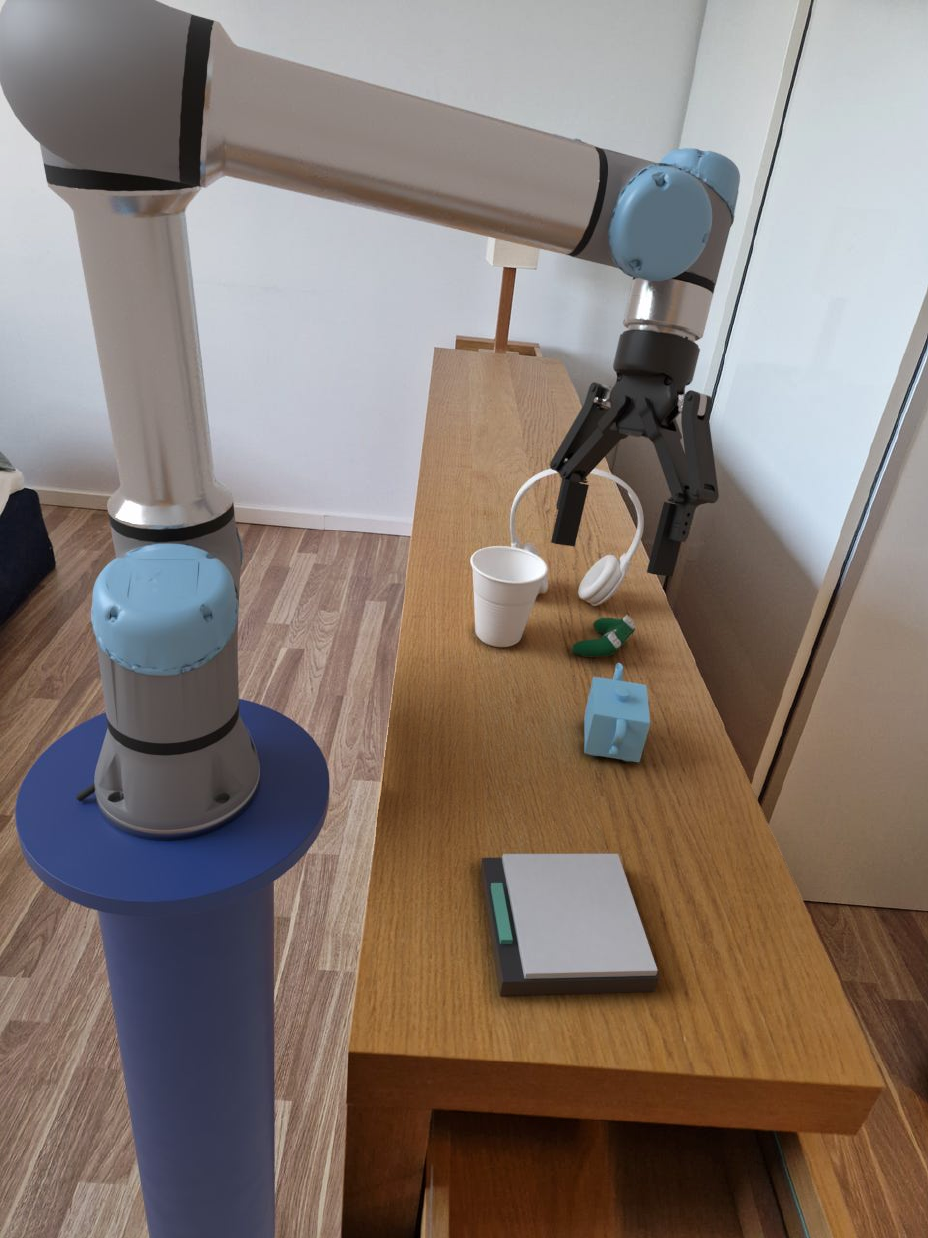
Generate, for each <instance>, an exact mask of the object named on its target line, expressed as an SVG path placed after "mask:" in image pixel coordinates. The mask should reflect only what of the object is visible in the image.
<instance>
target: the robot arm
mask: <svg viewBox="0 0 928 1238" xmlns="http://www.w3.org/2000/svg"><path fill="white" fill-rule="evenodd" d="M0 87H1V91H2V93H3V96H4V97H5V99H6V101H7V104H8V105H9V107H10V108H11V110H12V112H13V114H14V116H15V117H16V119H17V120H18V121H19V122H20V124H21V125H22V126H23V128H24V129H25V130H26V131H27V132H28V133H29V134H30V135H31V136H32V137H33V139H34V141H36V142H38V143H39V146H40V151H41V152H40V153H41V157H42V162H43V168H44V174H45V179H46V184H47V187H48V188H49V189H50V190H52V191H53V192H54V193H55V194H56V195H57V196H58V197H59V198H60V199H61V200H63V201H64V202H65V203H66V204H67V205H68V206H69V208H70V209H71V210H72V213H73V219H74V224H75V230H76V234H77V242H78V248H79V253H80V259H81V264H82V265H81V266H82V269H83V276H84V282H85V288H86V293H87V299H88V306H89V311H90V316H91V322H92V328H93V334H94V340H95V346H96V352H97V357H98V362H99V369H100V374H101V380H102V385H103V392H104V397H105V403H106V409H107V415H108V421H109V426H110V432H111V437H112V443H113V449H114V456H115V460H116V465H117V472H118V478H119V483H120V486H119V487H118V488H117V489H116V490H115V491H114V493H112V494H111V496H110V497H109V499H108V500H107V503H106V509H107V514H108V520H109V525H110V526H109V527H110V531H111V537H112V542H113V548H114V553H115V558H114V559H113V560H111V561H109V563H107V564H106V566H105V567H104V568H103V569H102V570H101V571H100V573H99V574H98V576H97V577H96V580H95V582H94V584H93V587H92V588H93V589H92V596H91V597H92V601H91V607H90V608H91V609H90V621H91V624H92V628H93V629H92V630H93V635H94V636H95V641H96V648H97V649H96V650H97V656H98V664H99V672H100V680H101V687H102V695H103V700H104V710H105V712H106V717H107V725H108V729H107V732H106V736H105V739H104V742H103V746H102V749H101V752H100V756H99V759H98V763H97V766H96V770H95V778H94V783H93V784H92V785H90V786H89V787H88V788H86V789H85V790H83V791H82V792H80V793H79V794H77V795H76V798H77V799H78V800H79V801H82V800H84V799H85V798H87V797H88V796H90V795H91V794H92V793H94V792H95V797H96V803H97V806H98V809H99V811H100V813H101V814H102V815H103V817H104V818H105V819H106V820H107V821H108V822H109V823H110V824H111V825H113V826H114V827H115V828H117V829H119V830H120V831H122V832H124V833H127V834H129V835H132V836H135V837H139V838H143V839H149V840H159V841H172V840H183V839H189V838H194V837H198V836H202V835H205V834H208V833H211V832H213V831H216V830H218V829H220V828H222V827H224V826H226V825H227V824H229V823H231V822H232V821H234V820H235V819H236V818H238V817H239V816H240V815H241V814H242V813H243V812H244V811H245V810H247V808H248V807H249V806H250V805H251V803H252V802H253V800H254V799H255V797H256V795H257V792H258V789H259V785H260V764H259V759H258V755H257V750H256V749H255V747H254V746H255V745H254V743H253V742H252V741H253V740H251V739H252V737H251V738H250V736H251V735H250V736H249V734H250V732H249V734H248V732H247V729H246V727H245V725H244V723H243V721H242V719H241V717H240V714H239V699H240V688H239V651H238V650H239V648H238V647H239V646H238V645H239V643H238V642H239V610H240V591H241V590H240V589H241V588H240V587H241V567H242V565H243V559H244V557H243V556H244V555H243V554H244V553H243V551H244V549H243V542H242V537H241V535H240V534H239V533H240V532H239V527H237V523H236V515H235V504H234V496H233V493H232V491H231V489H230V488H229V486H227V485H225V484H224V483H223V482H222V481H220V480H218V478H216V477H215V469H214V459H213V449H212V441H211V432H210V423H209V414H208V405H207V404H208V403H207V397H206V387H205V386H206V385H205V379H204V378H205V377H204V369H203V360H202V351H201V342H200V341H201V340H200V333H199V324H198V315H197V306H196V297H195V289H194V288H195V287H194V279H193V271H192V269H193V268H192V261H191V251H190V242H189V233H188V224H187V216H186V211H187V208H188V206H189V204H191V202H192V201H193V200H194V198H195V197H196V196H197V195H198V194H199V192H200V191H202V188H204V189H207V188H208V187H210V186H211V185H213V184H214V183H215V182H216V181H218V180H220V179H222V178H225V177H229V178H232V179H238V180H242V181H246V182H250V183H255V184H259V185H263V186H267V187H272V188H277V189H280V190H285V191H289V192H293V193H298V194H301V195H306V196H311V197H315V198H319V199H324V200H327V201H331V202H336V203H341V204H345V205H349V206H354V207H358V208H362V209H367V210H371V211H375V212H378V213H379V212H380V213H385V214H388V215H392V216H396V217H400V218H405V219H410V220H413V221H419V222H422V223H427V224H432V225H435V226H436V225H437V226H441V227H444V228H449V229H452V230H457V231H462V232H465V233H466V232H467V233H470V234H474V235H479V236H484V237H487V238H492V239H496V240H501V241H504V242H509V243H512V244H518V245H523V246H527V247H530V248H535V249H540V250H544V251H549V252H552V253H557V254H561V255H565V256H570V257H571V258H573V259H574V258H575V259H578V260H582V261H587V262H591V263H595V264H600V265H603V266H608V267H612V268H615V269H619V270H620V271H622V273H623V274H624V275H626V276H629V277H631V278H632V282H631V286H630V290H629V294H628V299H627V303H626V306H625V311H624V315H623V318H622V324H623V326H624V327H625V328H627V330H624V331H622V333H620V334H619V339H618V342H617V347H616V351H615V355H614V359H613V364H612V369H613V370H614V372H615V374H616V380H615V383H614V385H613V386H609V385H606V384H602V383H599V382H596V381H594V382H591V384H589V387H588V390H587V394H586V397H585V400H584V403H583V405H582V407H581V409H580V411H579V412H578V414H577V415H576V417H575V419H574V420H573V423H572V424H571V426H570V427H569V429H568V431H567V433H566V434H565V436H564V438H563V440H562V441H561V443H560V445H559V447H558V448H557V450H556V452H555V454H554V455H553V457H552V459H551V461H550V463H549V467H550V468H549V469H552V470H555V471H557V472H558V473H557V474H559V477H560V478H561V482H560V487H559V492H558V496H557V500H556V510H557V513H556V518H555V523H554V527H553V532H552V535H551V536H552V537H551V541H550V544H551V543H552V544H554V545H561V546H567V547H576V544H577V539H578V534H579V530H580V526H581V520H582V516H583V513H584V508H585V504H586V499H587V495H588V491H589V487H590V485H589V484H587V483H589V481H588V479H587V477H588V476H589V475H591V474H590V473H591V471H592V470H593V469H596V467H598V466H599V464H600V463H601V462H602V461H603V459H605V458H606V456H607V455H608V454H609V453H610V452H611V451H612V450H613V448H615V447H616V445H617V444H618V443H619V442H620V441H622V440H624V439H627V438H628V437H629V436H630V437H633V438H634V437H636V438H641V437H642V438H645V439H649V441H650V442H651V443H653V447H654V450H655V452H656V456H657V457H658V460H659V463H660V467H661V470H662V472H663V475H664V478H665V481H666V484H667V487H668V490H669V492H670V495H671V496H670V497H669V498H667V501H668V502H667V501H663V505H662V509H661V513H660V516H659V520H658V525H657V528H656V533H655V537H654V541H653V545H652V548H651V553H650V556H649V557H650V558H649V561H648V565H647V569H646V573H647V574H651V575H656V576H662V577H663V576H665V577H673V576H674V573H675V572H674V571H675V568H676V564H677V560H678V556H679V552H680V548H681V545H682V543H686V541H687V539H688V538H689V536H690V530H691V528H692V527H691V526H692V523H693V520H694V515H695V512H696V510H697V508H698V507H699V506H701V505H704V504H705V505H706V504H715V503H717V501H718V500H719V497H720V494H719V493H720V492H719V486H718V478H717V470H716V463H715V455H714V454H715V453H714V446H713V439H712V432H711V425H710V424H711V423H710V419H711V412H712V406H713V397H712V396H711V395H708V394H704V393H701V392H698V391H696V390H692V389H690V390H687V391H686V387H687V386H689V385H691V384H692V382H693V380H694V377H695V372H696V368H697V364H698V360H699V356H700V352H701V348H700V347H699V345H698V343H696V342H697V341H699V340H701V339H702V338H704V335H705V330H706V326H707V321H708V318H709V313H710V309H711V306H712V302H713V298H714V293H715V289H716V286H717V281H718V278H719V274H720V271H721V266H722V262H723V258H724V255H725V250H726V248H727V247H726V246H727V243H728V239H729V235H730V231H731V228H732V226H733V225H734V221H735V213H736V208H737V203H738V196H739V188H740V183H741V173H740V169H739V167H738V166H737V165H736V163H735V162H734V161H733V160H732V159H730V158H729V157H728V156H725V155H723V154H722V153H718V152H716V151H712V150H700V149H699V148H693V147H687V148H685V147H684V148H678V149H673V150H670V151H669V152H668V153H666V154H665V155H663V157H662V158H661V159H660V162H656V161H651V160H647V159H644V158H640V157H637V156H633V155H630V154H626V153H623V152H618V151H615V150H611V149H607V148H602V147H599V146H596V145H594V144H590V143H588V142H585V141H582V139H580V138H571V137H567V136H564V135H559V134H557V133H550V132H547V131H543V130H539V129H536V128H532V127H529V126H526V125H522V124H518V123H515V122H511V121H507V120H504V119H500V118H498V117H494V116H490V115H486V114H482V113H479V112H476V111H472V110H468V109H464V108H462V107H457V106H454V105H450V104H447V103H443V102H439V101H435V100H433V99H429V98H425V97H421V96H418V95H415V94H410V93H408V92H403V91H401V90H400V91H399V90H396V89H392V88H389V87H385V86H382V85H378V84H375V83H371V82H368V81H364V80H360V79H357V78H353V77H350V76H347V75H343V74H339V73H335V72H331V71H329V70H324V69H321V68H317V67H314V66H310V65H306V64H304V63H299V62H295V61H292V60H288V59H285V58H282V57H277V56H274V55H270V54H267V53H264V52H260V51H256V50H253V49H249V48H246V47H243V46H238V45H237V44H236V43H234V42H233V40H232V38H231V37H230V35H229V34H228V32H227V31H226V30H225V27H223V25H222V24H221V22H220V21H217V20H213V19H210V18H206V17H203V16H200V15H196V14H192V13H190V12H187V11H184V10H181V9H178V8H175V7H172V6H169V5H167V4H165V3H163V2H161V1H159V0H5V1H4V3H3V5H2V6H1V9H0ZM679 415H681V416H680V419H681V421H680V423H681V430H680V427H679V425H678V422H677V417H678V416H679ZM681 440H683V444H682V442H681ZM683 447H684V448H683ZM246 726H247V725H246ZM248 731H249V730H248Z"/></svg>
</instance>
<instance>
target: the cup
mask: <svg viewBox="0 0 928 1238" xmlns="http://www.w3.org/2000/svg"><path fill="white" fill-rule="evenodd" d="M540 557H541V556H540ZM540 557H539V556H537V555H535V554H533V553H531V552H529V551H526V550H523V549H520V548H515V547H511V546H508V545H493V546H491V545H490V546H486V547H482V548H479V549H478V550H476V551H474V553H473V554H472V555H471V557H470V565H471V567H472V569H471V570H472V584H473V585H472V589H473V605H474V606H473V608H474V611H473V612H474V631H475V632H474V633H475V635H476V636H477V638H478V639H479V640H480V641H481V642H482V643H484V644H486V645H488V646H492V647H495V648H509V647H512V646H514V645H516V644H518V643H519V642H520V641H521V640H522V637H523V635H524V632H525V629H526V626H527V623H528V621H529V617H530V615H531V613H532V610H533V608H534V605H535V602H536V599H537V597H538V595H539V594H538V592H539V589H540V586H541V584H542V581H543V579H544V577H545V576H546V575H547V576H548V571H549V567H548V565H547V563H546V561H545V560H543V558H542V557H541V558H540Z"/></svg>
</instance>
